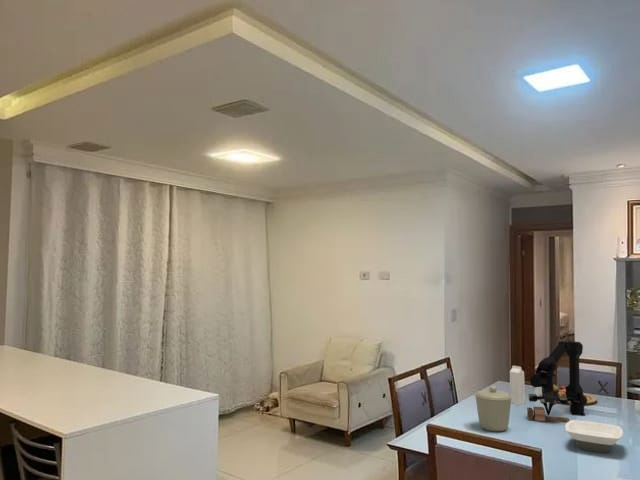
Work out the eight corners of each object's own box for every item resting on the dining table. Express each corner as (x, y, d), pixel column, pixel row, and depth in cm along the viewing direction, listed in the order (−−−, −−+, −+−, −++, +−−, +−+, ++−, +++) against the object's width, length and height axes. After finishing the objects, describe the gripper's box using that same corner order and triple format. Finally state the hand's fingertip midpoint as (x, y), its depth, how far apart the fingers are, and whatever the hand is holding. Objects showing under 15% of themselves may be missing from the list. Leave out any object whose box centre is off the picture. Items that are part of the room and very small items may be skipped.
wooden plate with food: (603, 408, 293) (602, 393, 293) (543, 403, 302) (543, 389, 302) (590, 396, 323) (590, 383, 324) (536, 392, 332) (536, 379, 333)
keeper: (543, 417, 272) (543, 407, 272) (545, 421, 265) (544, 410, 266) (533, 416, 273) (533, 406, 274) (534, 420, 267) (534, 409, 267)
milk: (519, 405, 298) (518, 367, 299) (510, 403, 303) (509, 365, 304) (525, 403, 302) (524, 366, 303) (515, 401, 307) (515, 364, 308)
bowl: (623, 460, 210) (622, 439, 211) (562, 450, 222) (562, 430, 223) (624, 445, 229) (623, 426, 230) (568, 436, 241) (568, 418, 242)
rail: (567, 419, 268) (567, 410, 269) (570, 423, 262) (569, 413, 262) (527, 416, 274) (527, 407, 275) (528, 420, 268) (528, 410, 268)
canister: (499, 422, 264) (499, 381, 266) (520, 433, 247) (519, 389, 248) (468, 424, 260) (467, 382, 262) (487, 435, 243) (486, 390, 244)
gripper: (530, 387, 264) (530, 417, 263) (569, 389, 259) (570, 421, 258) (528, 383, 275) (528, 412, 274) (565, 385, 269) (566, 415, 268)
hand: (548, 415), depth 268 cm, fingers closed
